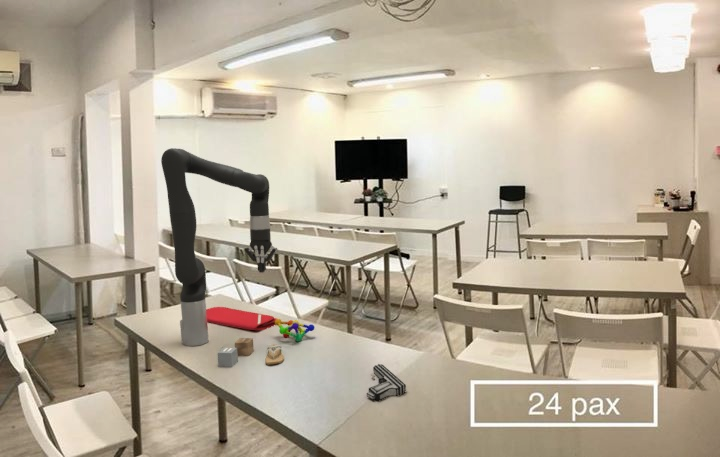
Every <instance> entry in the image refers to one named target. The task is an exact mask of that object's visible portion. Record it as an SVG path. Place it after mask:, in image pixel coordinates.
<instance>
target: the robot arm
mask: <svg viewBox="0 0 720 457" xmlns="http://www.w3.org/2000/svg"><path fill="white" fill-rule="evenodd" d="M160 161H161V168H162V173H163V177H164V181H165V185H166V192H167V201H168V208H169V220H170V227H171V234H172V239H173V240H172V241H173V246H174V248H173V249H174V271H175V273H174V274H175V277H176V279H177V281H178V282H179V283H180V284H182V286H181V291H180V293H179V295H180V296H179V298H180V299H179V300H180V309H181V310H180V311H181V319H180V320H179V325H180V338H181V345H185V346H187V347H197V346H201V345H205V344H207V343H208V342H209V328H208V322H207V313H206V309H207V303H206V291H207V276H206V275H207V274H206V267H205V264H204V263H203V261H202V260H201V259H200V258H198V257H196V254H195V253H196V252H195V240H196V234H197V214H196V208H195V204H194V202H193V198H192V197H191V194H190V192H189V189H188V187H187V182H186V181H187V180H186V174H192V175H193V174H194V175H200V176H202V177H206V178H208V179H209V180H212V181H214V182H217V183H220V184H222V185H226V186H230V187H234V188H238V189H240V190H243V191H246V192H248V193H251V200H250V203H249V232H250V233H249V235H250V236H249V237H250V239H249V240H250V242H249V245H248V247H246V248H244V251H245V253H246V254H247V255H248V257H249V258H250V259H251V261H252V262H256V263H257V271H258V272H259V273H263V274H264V273H265V271H267V262H269V261H271V259H272V258H273V256H275V254H276V253H277V251H278V248H277V247H275V246H274V245H273V243H272V241H271V239H272V238H271V219H270V212H269V211H270V210H269V208H270V207H269V206H270V205H269V196H270V195H269V194H270V182H269V179H268V178H267V176H266V175H264V174H255V173H251V172H246V171H244V170H243V169H241V168H237V167H234V166H231V165H228V164H223V163H220V162H214V161H211V160H208V159H205V158H202V157H200V156H198V155H195V154H193V153H191V152H189V151H187V150H185V149H184V148H183V149H182V148H168V149H166V150H165V151H164V152H163V153H162V156H161V160H160ZM268 252H270V253H269V254H268Z"/></svg>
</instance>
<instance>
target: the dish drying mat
mask: <svg viewBox="0 0 720 457" xmlns="http://www.w3.org/2000/svg"><path fill="white" fill-rule="evenodd" d="M206 313H207V323H211V324H216V325H221V326H227V327H232V328H237V329H238V328H239V329H243V330H251V331H256V332H257V331H260V332H261V331H265V330H268V329H271V328H272V327H271V326H273V327H275V326H277V325H276V324H275V320H276V319H278V318H276V317H274V316H272V315H270V314H269V315H268V314H263V313H257V312H253V311H245V310H241V309H236V308H230V307H226V306H225V307H224V306H215V307H210V308H206ZM274 325H275V326H274ZM267 328H268V329H267Z"/></svg>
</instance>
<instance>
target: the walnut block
mask: <svg viewBox="0 0 720 457" xmlns="http://www.w3.org/2000/svg"><path fill="white" fill-rule="evenodd" d="M234 348H237V354H238V357H249V356H251V355H252V353H253V352H254V351H255V349H254V338H252V337H239V338H238V339H237V340H236V341H234Z"/></svg>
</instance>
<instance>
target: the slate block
mask: <svg viewBox="0 0 720 457" xmlns="http://www.w3.org/2000/svg"><path fill="white" fill-rule="evenodd" d="M238 362H239V356H238V354H237V348H235V347H222V349H220V350H219V351H218V352H217V365H218V367H219V366H220V368H221V367H225V368H233V367H234V366H235V365H236V364H237V363H238Z"/></svg>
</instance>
